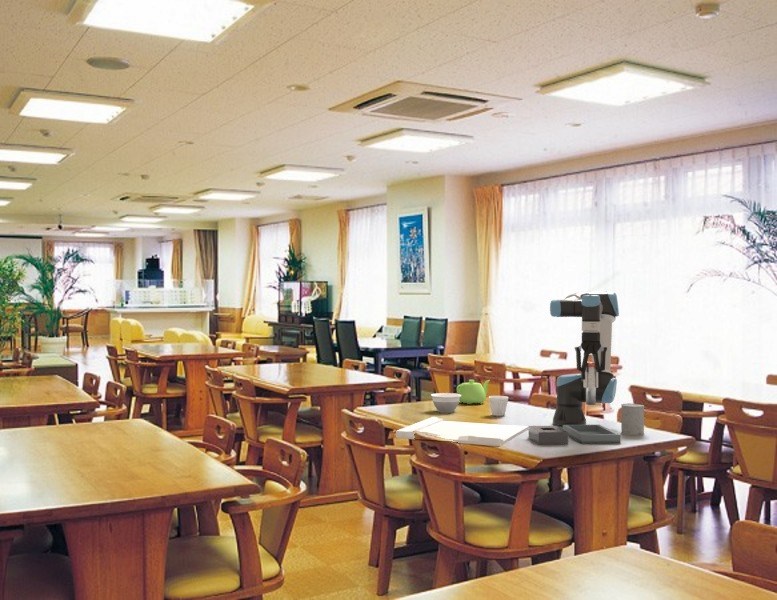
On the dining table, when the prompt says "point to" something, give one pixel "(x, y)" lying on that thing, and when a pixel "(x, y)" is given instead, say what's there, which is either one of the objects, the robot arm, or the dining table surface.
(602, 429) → the slate tray
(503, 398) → the cup
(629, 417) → the grey cylinder
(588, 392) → the lynch pin
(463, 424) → the white flat slab
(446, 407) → the bowl
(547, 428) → the block
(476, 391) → the teapot
